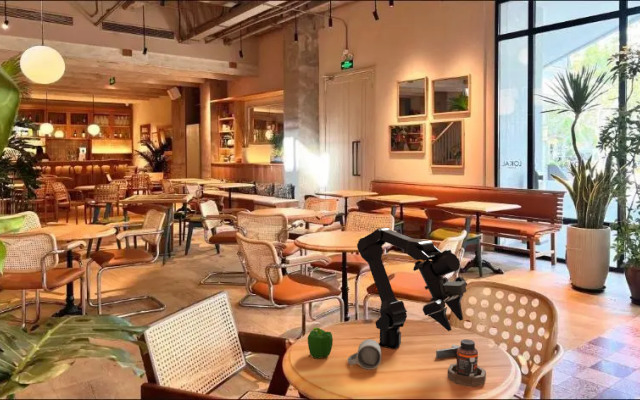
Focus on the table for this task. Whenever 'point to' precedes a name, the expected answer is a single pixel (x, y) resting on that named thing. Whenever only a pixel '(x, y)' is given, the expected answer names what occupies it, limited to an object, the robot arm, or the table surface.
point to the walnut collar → (466, 377)
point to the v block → (447, 352)
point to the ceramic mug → (367, 355)
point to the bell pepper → (320, 343)
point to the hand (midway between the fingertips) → (456, 325)
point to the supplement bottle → (467, 358)
